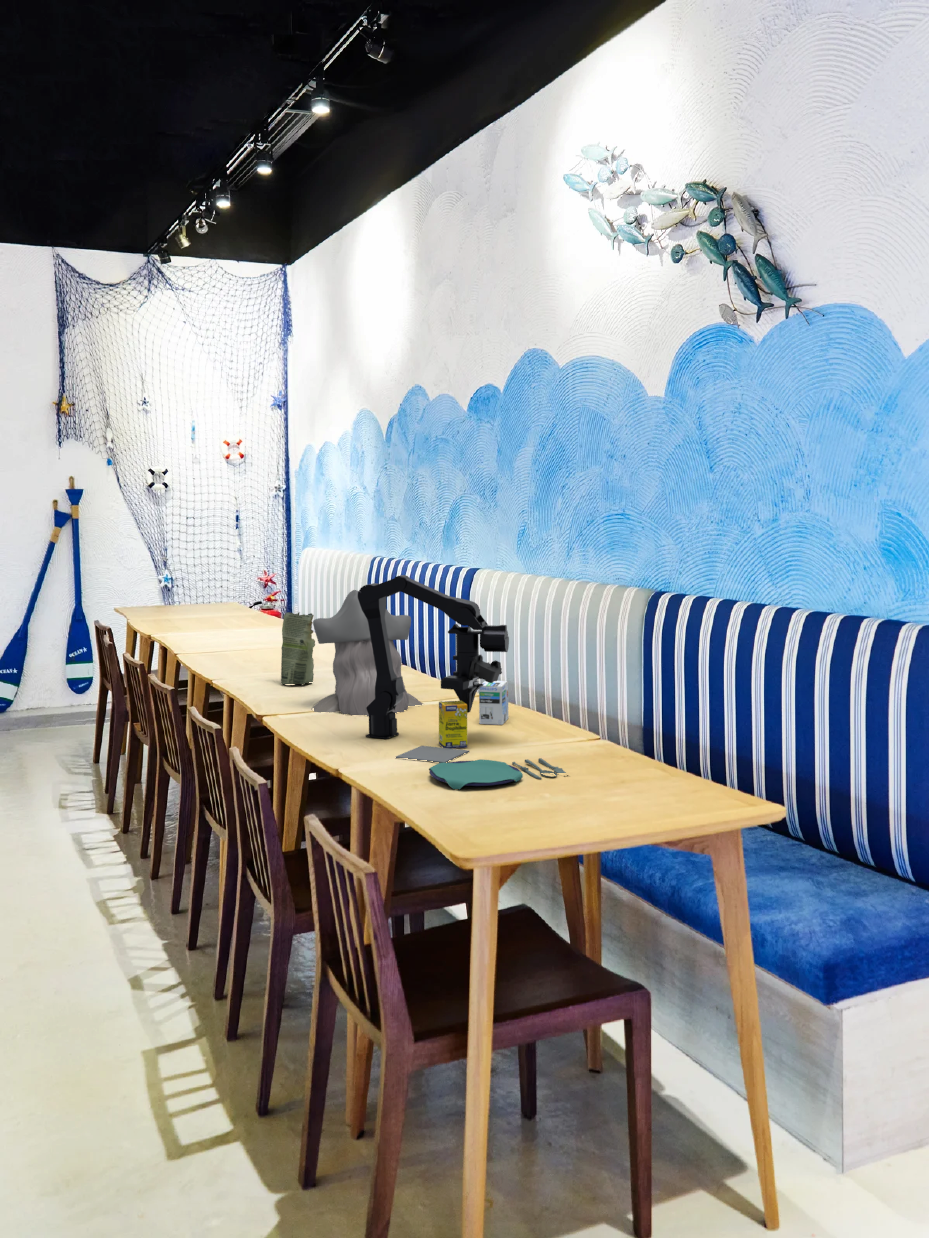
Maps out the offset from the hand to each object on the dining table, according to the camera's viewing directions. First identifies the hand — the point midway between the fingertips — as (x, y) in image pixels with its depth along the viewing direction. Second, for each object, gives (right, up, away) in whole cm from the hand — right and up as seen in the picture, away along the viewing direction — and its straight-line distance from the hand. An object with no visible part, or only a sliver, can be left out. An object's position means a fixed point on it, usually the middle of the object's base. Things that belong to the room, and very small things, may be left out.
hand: (467, 712), depth 261 cm
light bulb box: (+7, -5, +24) cm, 26 cm away
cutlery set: (+6, -11, -36) cm, 39 cm away
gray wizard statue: (-30, -3, +49) cm, 57 cm away
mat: (-8, -9, -16) cm, 20 cm away
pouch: (-57, +1, +90) cm, 106 cm away
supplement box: (-4, -8, -7) cm, 11 cm away
